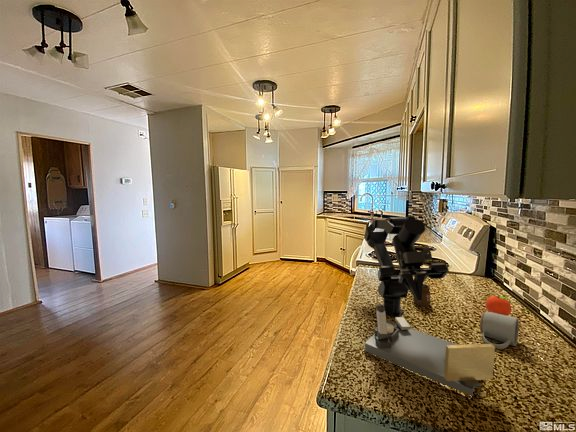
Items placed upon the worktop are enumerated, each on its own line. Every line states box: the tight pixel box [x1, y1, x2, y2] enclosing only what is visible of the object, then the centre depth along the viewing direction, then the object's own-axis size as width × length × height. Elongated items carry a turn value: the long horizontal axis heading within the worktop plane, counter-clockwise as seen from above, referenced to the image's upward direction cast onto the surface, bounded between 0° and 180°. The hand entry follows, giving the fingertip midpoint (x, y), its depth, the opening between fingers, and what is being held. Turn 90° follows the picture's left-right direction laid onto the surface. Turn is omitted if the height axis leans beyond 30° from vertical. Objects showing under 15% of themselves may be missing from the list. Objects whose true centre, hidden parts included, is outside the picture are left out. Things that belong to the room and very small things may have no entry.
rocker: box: [394, 316, 412, 330], centre depth 75 cm, size 4×3×1 cm, turn 2°
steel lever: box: [375, 304, 390, 340], centre depth 68 cm, size 2×3×9 cm
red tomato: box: [485, 295, 514, 316], centre depth 87 cm, size 8×7×7 cm
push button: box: [387, 323, 394, 335], centre depth 72 cm, size 4×4×2 cm
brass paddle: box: [444, 343, 496, 387], centre depth 54 cm, size 3×10×8 cm, turn 92°
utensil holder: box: [412, 280, 431, 307], centre depth 97 cm, size 6×6×12 cm
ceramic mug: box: [479, 311, 520, 350], centre depth 72 cm, size 11×8×8 cm
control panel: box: [364, 320, 476, 397], centre depth 66 cm, size 16×24×4 cm
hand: (419, 301), depth 70 cm, fingers closed
